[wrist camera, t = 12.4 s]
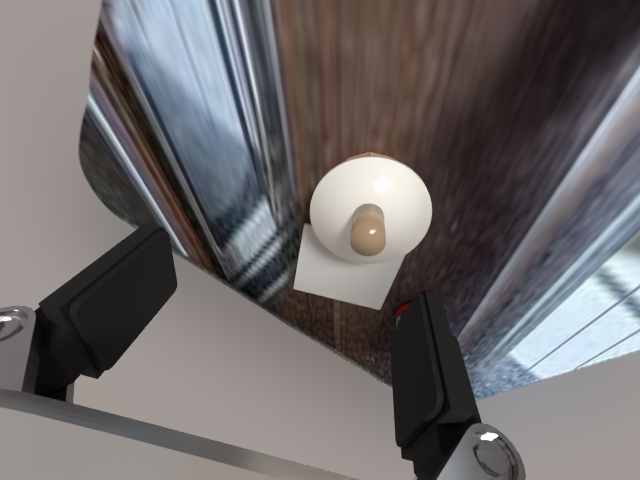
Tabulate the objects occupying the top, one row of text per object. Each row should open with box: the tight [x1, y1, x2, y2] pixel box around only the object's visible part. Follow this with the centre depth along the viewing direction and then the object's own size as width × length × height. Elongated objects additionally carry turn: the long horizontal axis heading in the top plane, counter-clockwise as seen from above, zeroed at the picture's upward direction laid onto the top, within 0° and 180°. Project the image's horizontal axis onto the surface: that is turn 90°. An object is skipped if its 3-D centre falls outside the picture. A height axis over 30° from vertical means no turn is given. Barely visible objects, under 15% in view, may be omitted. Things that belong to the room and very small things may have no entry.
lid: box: [310, 156, 432, 264], centre depth 31 cm, size 14×14×6 cm
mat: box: [293, 223, 406, 310], centre depth 46 cm, size 16×14×1 cm
